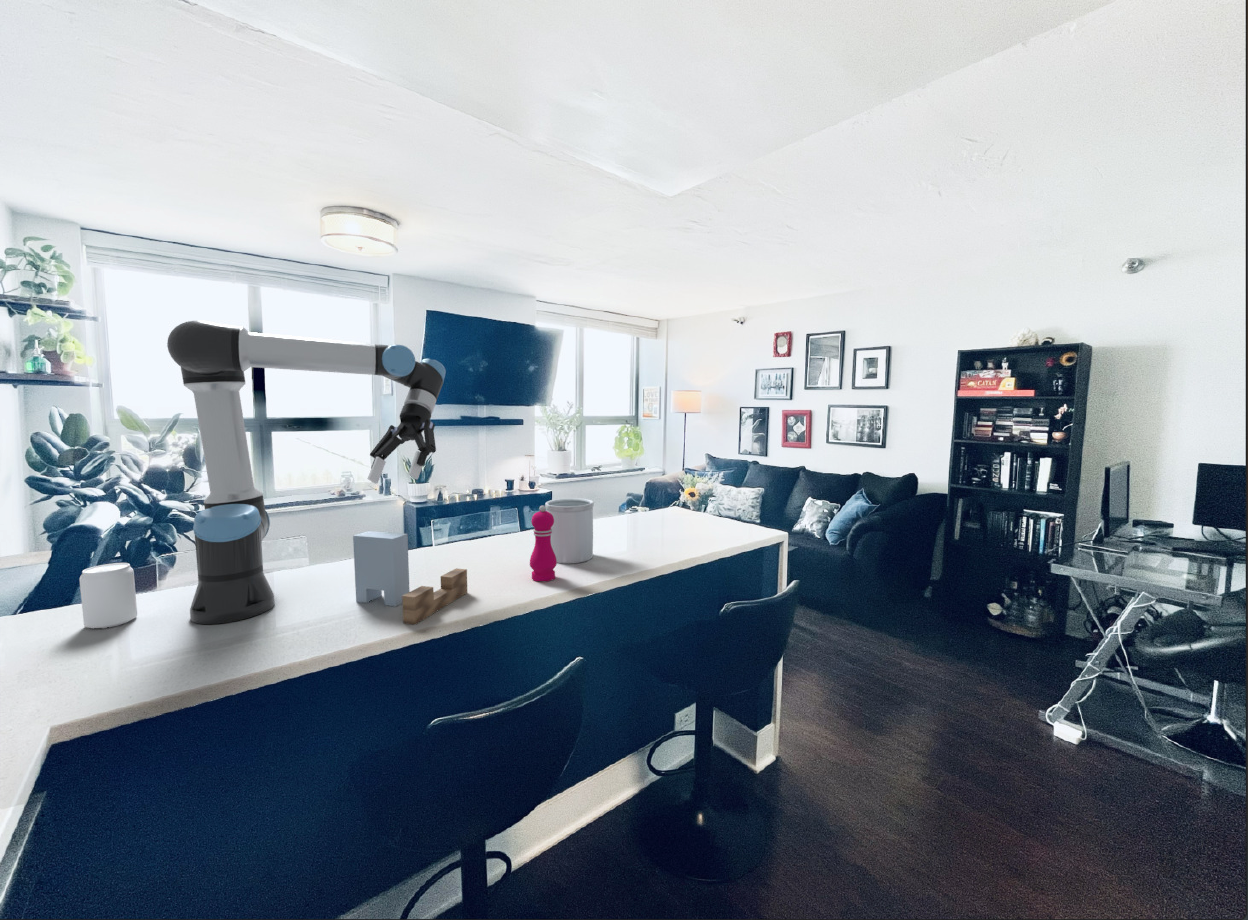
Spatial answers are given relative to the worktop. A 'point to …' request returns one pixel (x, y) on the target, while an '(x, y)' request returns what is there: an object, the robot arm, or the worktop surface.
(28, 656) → the worktop surface
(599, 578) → the worktop surface
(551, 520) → the pepper mill
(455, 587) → the walnut slotted rail
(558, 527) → the utensil holder
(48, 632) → the worktop surface
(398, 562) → the tall grey pillar
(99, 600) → the beverage can
